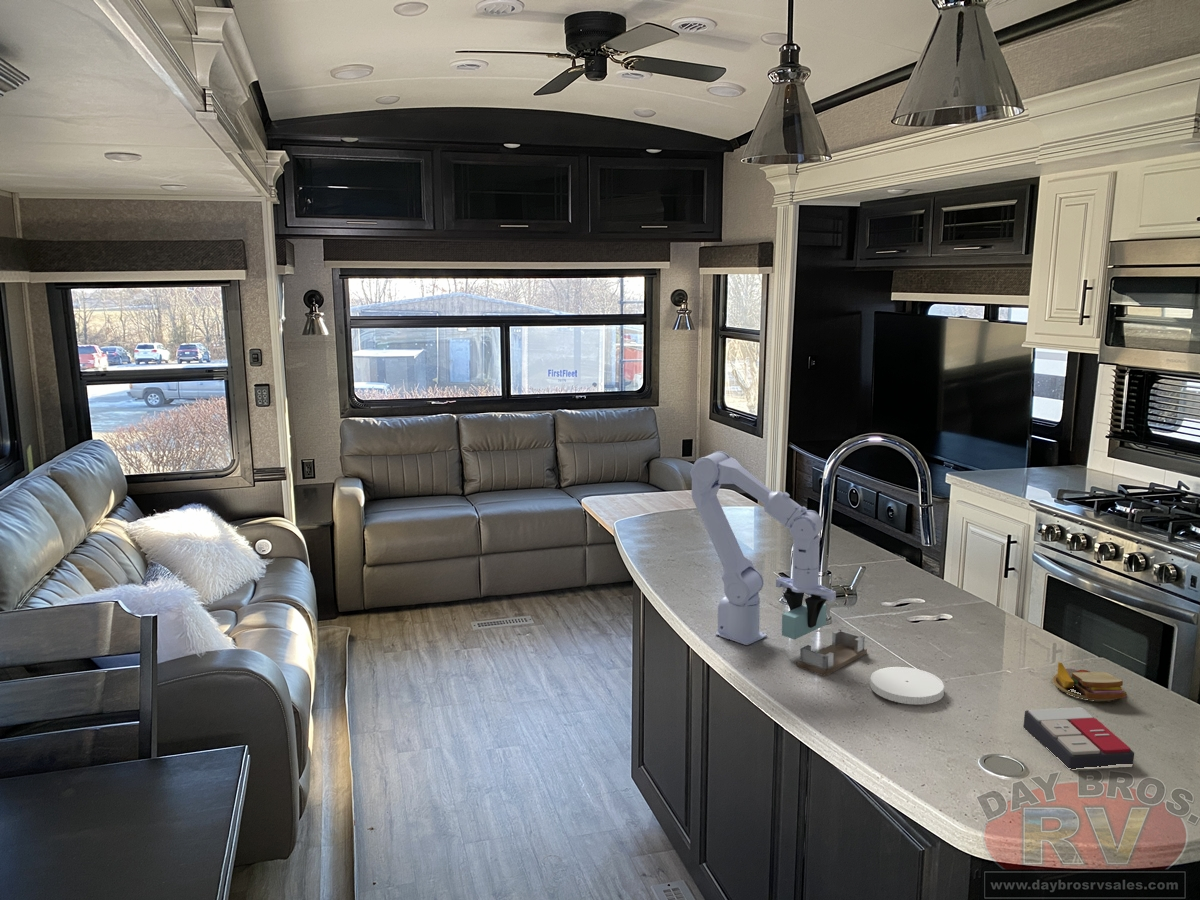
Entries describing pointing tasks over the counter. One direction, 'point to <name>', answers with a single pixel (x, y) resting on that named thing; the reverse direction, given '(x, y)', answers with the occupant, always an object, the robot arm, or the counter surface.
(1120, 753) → the calculator
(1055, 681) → the toy sandwich meal
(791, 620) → the teal rectangular block
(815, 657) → the end caps
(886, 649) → the counter surface
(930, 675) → the plastic lid
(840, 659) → the end cap board
